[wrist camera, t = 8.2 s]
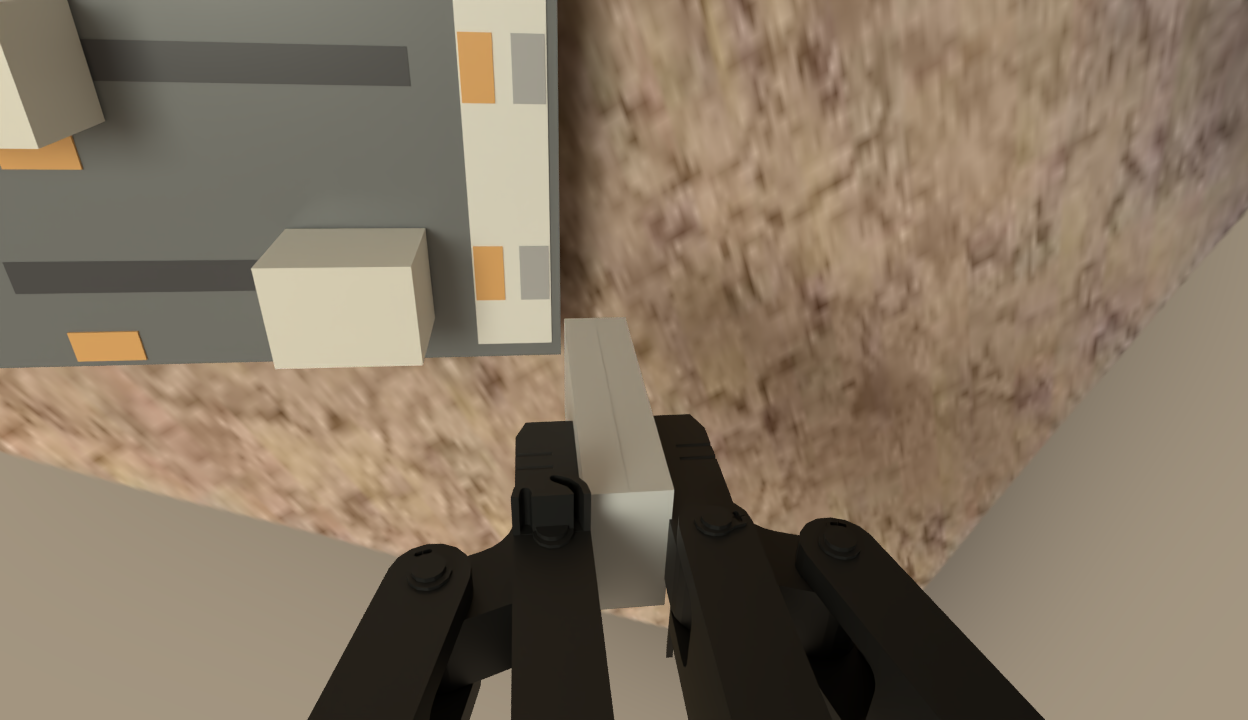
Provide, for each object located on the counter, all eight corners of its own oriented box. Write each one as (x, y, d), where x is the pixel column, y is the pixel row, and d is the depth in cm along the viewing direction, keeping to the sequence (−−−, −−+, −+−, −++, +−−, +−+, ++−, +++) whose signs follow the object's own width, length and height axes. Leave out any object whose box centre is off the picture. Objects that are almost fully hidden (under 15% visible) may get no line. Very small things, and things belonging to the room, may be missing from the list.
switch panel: (549, -334, 18) (553, -384, 15) (558, 314, 27) (561, 355, 24) (-481, -421, 15) (-694, -497, 13) (-95, 326, 24) (-171, 374, 22)
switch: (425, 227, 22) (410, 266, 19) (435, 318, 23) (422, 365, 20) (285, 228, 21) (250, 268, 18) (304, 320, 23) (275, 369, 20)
